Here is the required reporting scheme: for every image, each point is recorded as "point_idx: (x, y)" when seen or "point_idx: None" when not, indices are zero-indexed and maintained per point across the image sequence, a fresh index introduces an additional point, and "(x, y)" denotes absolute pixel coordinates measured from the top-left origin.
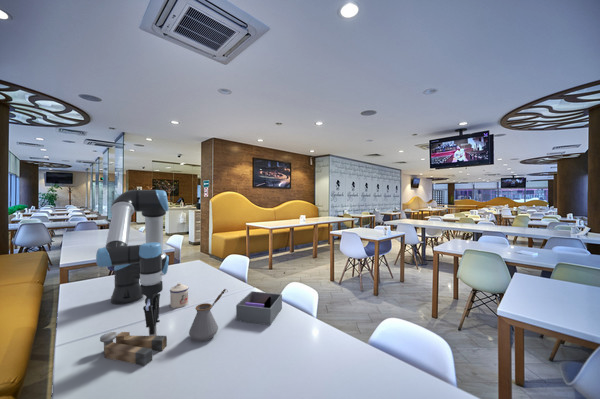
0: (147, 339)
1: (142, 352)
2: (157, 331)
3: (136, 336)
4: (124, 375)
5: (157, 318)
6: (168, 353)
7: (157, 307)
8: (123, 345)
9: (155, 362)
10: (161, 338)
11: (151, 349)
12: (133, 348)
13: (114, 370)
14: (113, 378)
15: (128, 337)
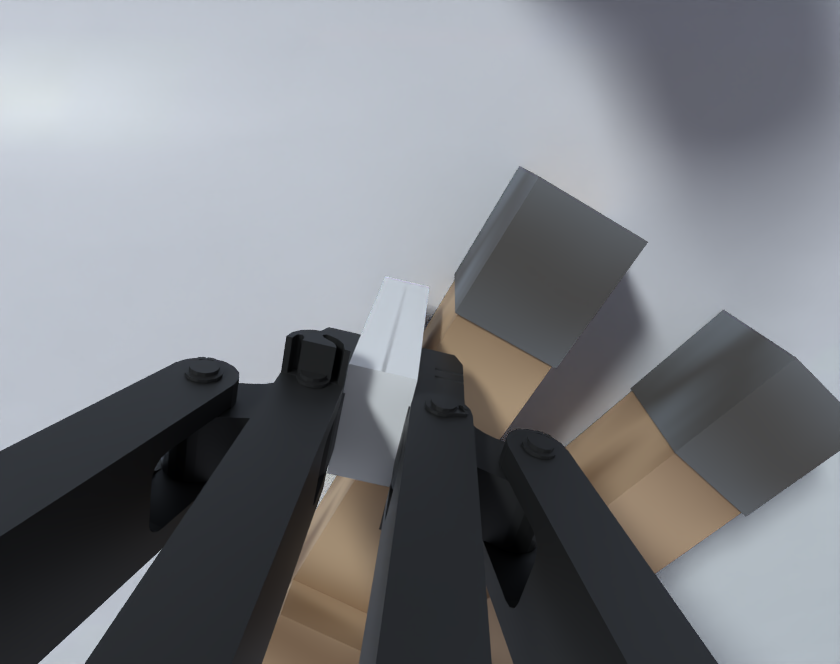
0: (497, 413)
1: (801, 454)
2: (376, 310)
3: (351, 521)
4: (805, 505)
5: (275, 393)
6: (702, 146)
7: (18, 547)
8: (494, 614)
9: (789, 279)
10: (584, 249)
11: (800, 364)
12: (627, 534)
13: (672, 569)
14: (786, 566)
15: (336, 586)
